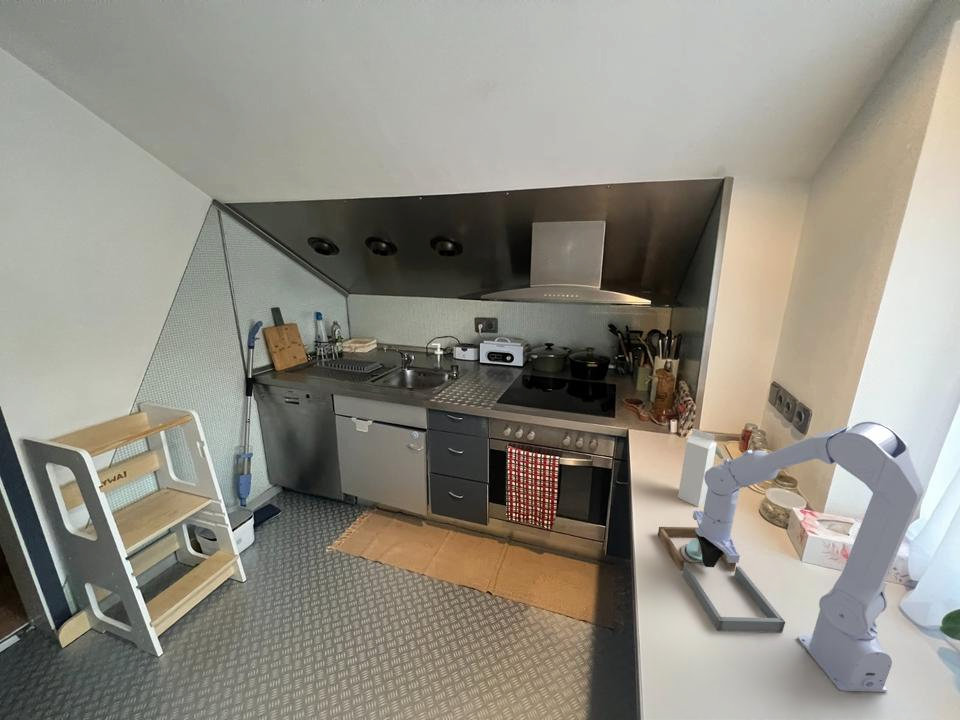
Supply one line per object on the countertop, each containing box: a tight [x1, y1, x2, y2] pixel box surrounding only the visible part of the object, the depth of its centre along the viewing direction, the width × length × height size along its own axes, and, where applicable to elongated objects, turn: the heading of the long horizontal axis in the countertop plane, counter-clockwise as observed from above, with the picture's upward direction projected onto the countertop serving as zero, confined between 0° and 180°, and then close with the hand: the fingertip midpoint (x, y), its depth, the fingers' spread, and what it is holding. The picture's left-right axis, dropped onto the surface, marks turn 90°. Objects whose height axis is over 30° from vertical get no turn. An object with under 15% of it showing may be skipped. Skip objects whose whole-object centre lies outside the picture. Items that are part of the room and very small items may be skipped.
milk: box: [677, 428, 718, 508], centre depth 113 cm, size 6×6×22 cm
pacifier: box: [680, 539, 703, 563], centre depth 93 cm, size 7×6×6 cm
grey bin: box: [681, 564, 786, 633], centre depth 81 cm, size 14×13×2 cm
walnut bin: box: [657, 526, 737, 572], centre depth 95 cm, size 12×13×2 cm
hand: (708, 565), depth 89 cm, fingers closed
